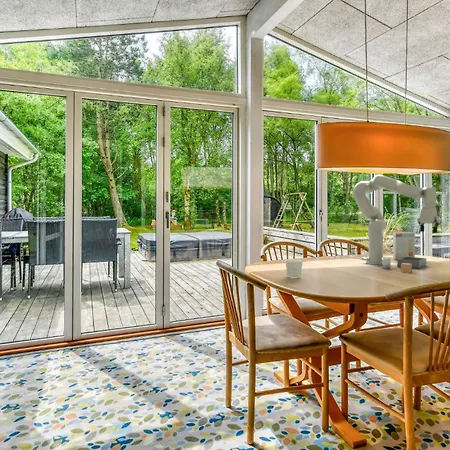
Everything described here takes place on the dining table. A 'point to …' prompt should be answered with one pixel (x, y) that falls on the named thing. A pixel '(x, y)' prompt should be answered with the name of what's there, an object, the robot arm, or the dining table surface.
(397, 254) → the cracker box
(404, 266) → the terracotta cube
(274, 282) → the dining table surface
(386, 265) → the metal cylinder
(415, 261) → the tote
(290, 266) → the cup
